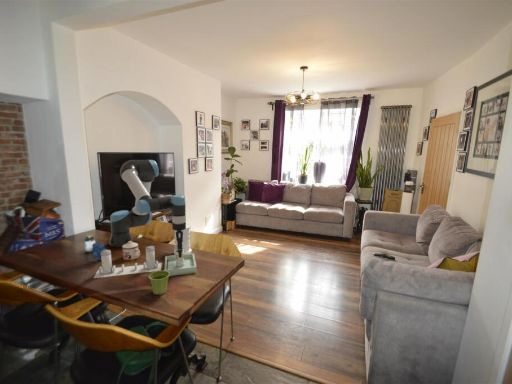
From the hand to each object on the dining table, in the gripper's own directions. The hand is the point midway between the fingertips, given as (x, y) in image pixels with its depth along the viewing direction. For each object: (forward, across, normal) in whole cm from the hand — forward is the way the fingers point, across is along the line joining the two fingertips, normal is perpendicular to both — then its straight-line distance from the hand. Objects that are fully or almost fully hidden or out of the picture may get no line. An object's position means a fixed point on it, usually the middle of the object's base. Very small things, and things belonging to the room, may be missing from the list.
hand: (180, 257), depth 150 cm
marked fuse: (+5, 0, 0) cm, 5 cm away
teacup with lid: (+6, -18, -28) cm, 34 cm away
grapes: (+6, -20, -47) cm, 51 cm away
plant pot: (+6, +25, -10) cm, 28 cm away
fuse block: (+6, 0, -27) cm, 28 cm away
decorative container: (+6, -22, +2) cm, 23 cm away
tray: (+6, 0, 0) cm, 6 cm away
